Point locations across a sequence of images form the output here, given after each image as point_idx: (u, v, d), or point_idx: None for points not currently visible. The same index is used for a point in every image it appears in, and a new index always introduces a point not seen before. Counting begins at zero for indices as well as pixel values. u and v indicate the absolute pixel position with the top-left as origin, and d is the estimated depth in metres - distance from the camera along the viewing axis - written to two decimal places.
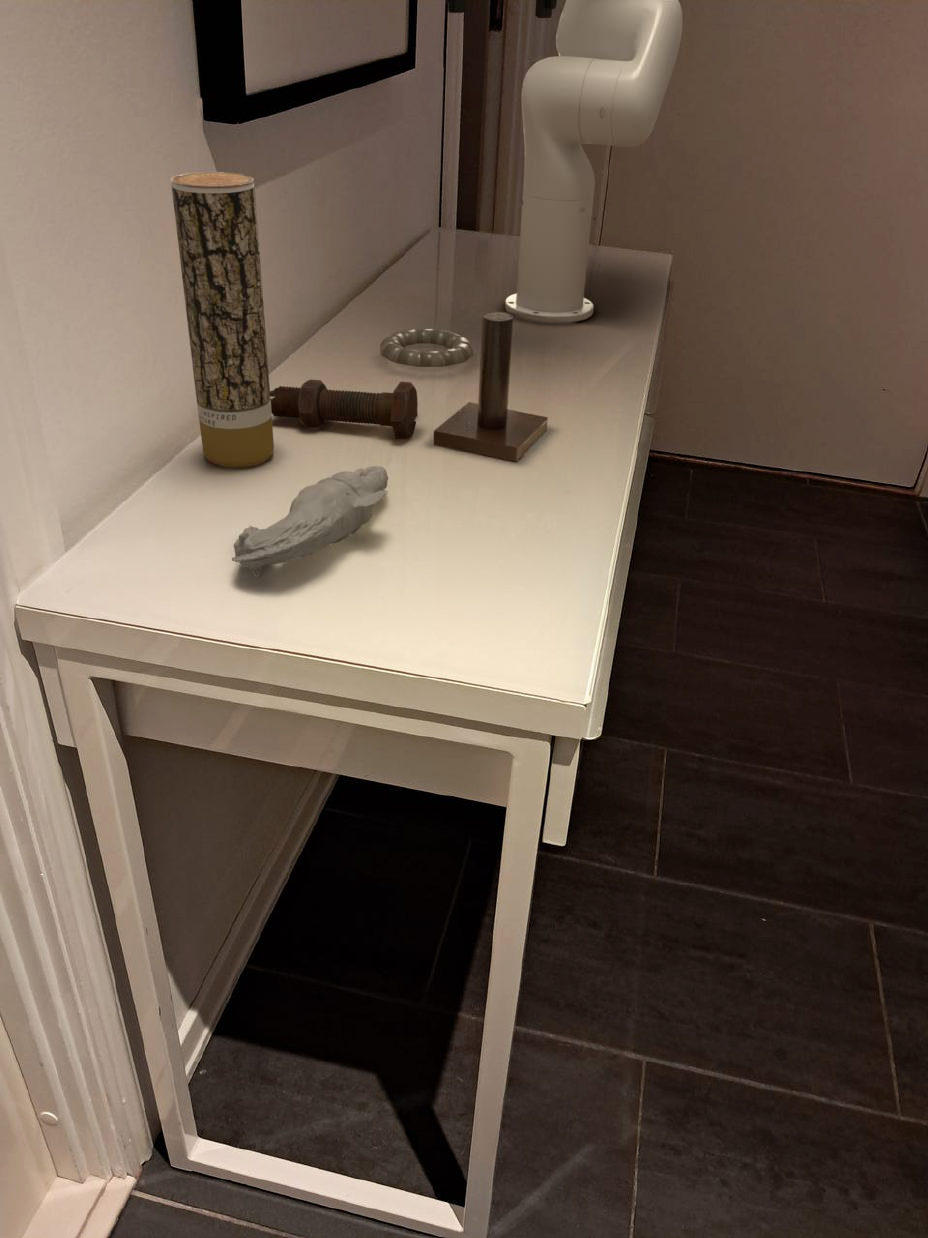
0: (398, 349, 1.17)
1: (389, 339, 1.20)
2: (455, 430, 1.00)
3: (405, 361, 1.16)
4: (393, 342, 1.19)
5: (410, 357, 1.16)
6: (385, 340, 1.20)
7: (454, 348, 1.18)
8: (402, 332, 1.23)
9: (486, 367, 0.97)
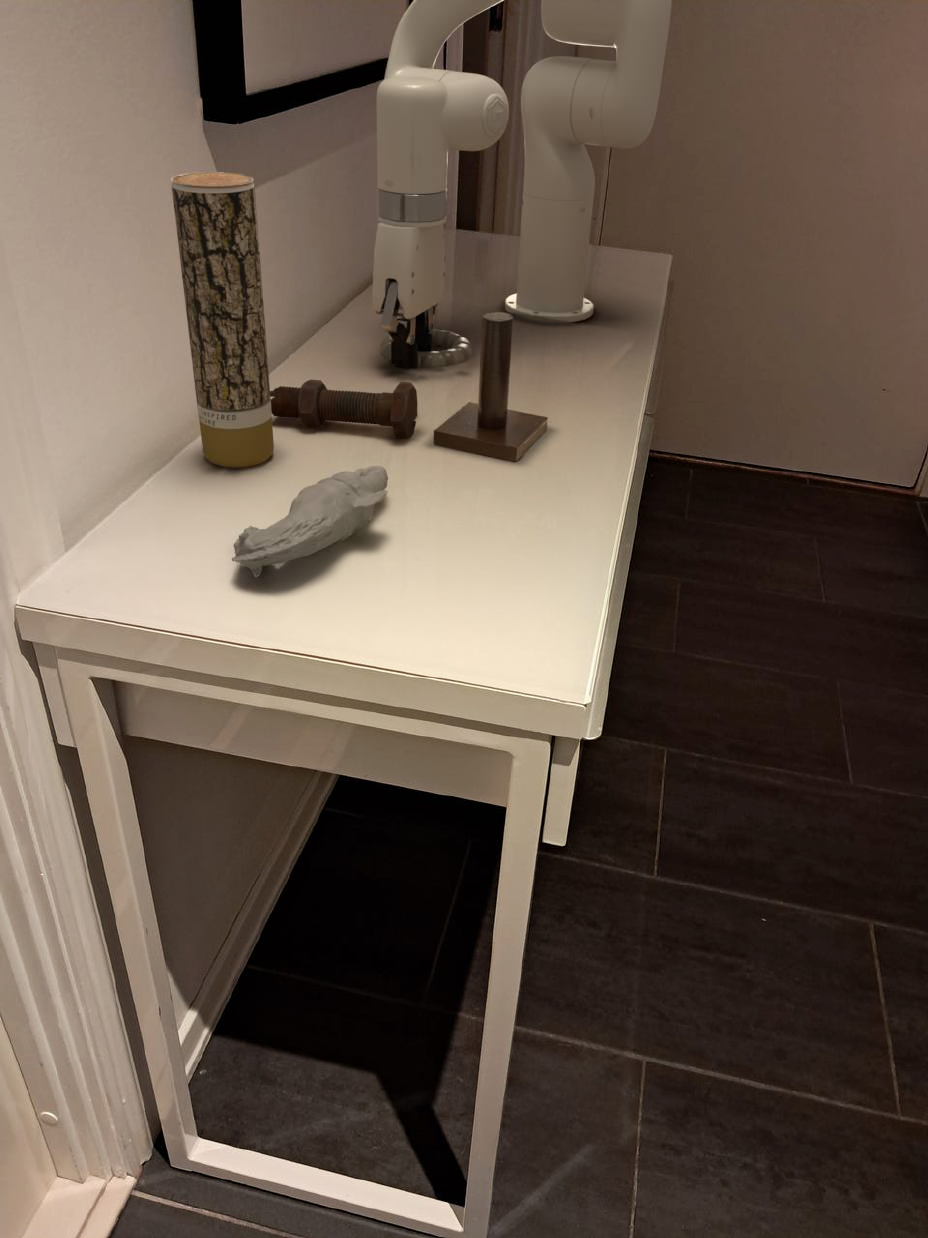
0: None
1: None
2: (455, 430, 1.00)
3: None
4: None
5: None
6: (385, 340, 1.20)
7: (454, 348, 1.18)
8: None
9: (486, 367, 0.97)
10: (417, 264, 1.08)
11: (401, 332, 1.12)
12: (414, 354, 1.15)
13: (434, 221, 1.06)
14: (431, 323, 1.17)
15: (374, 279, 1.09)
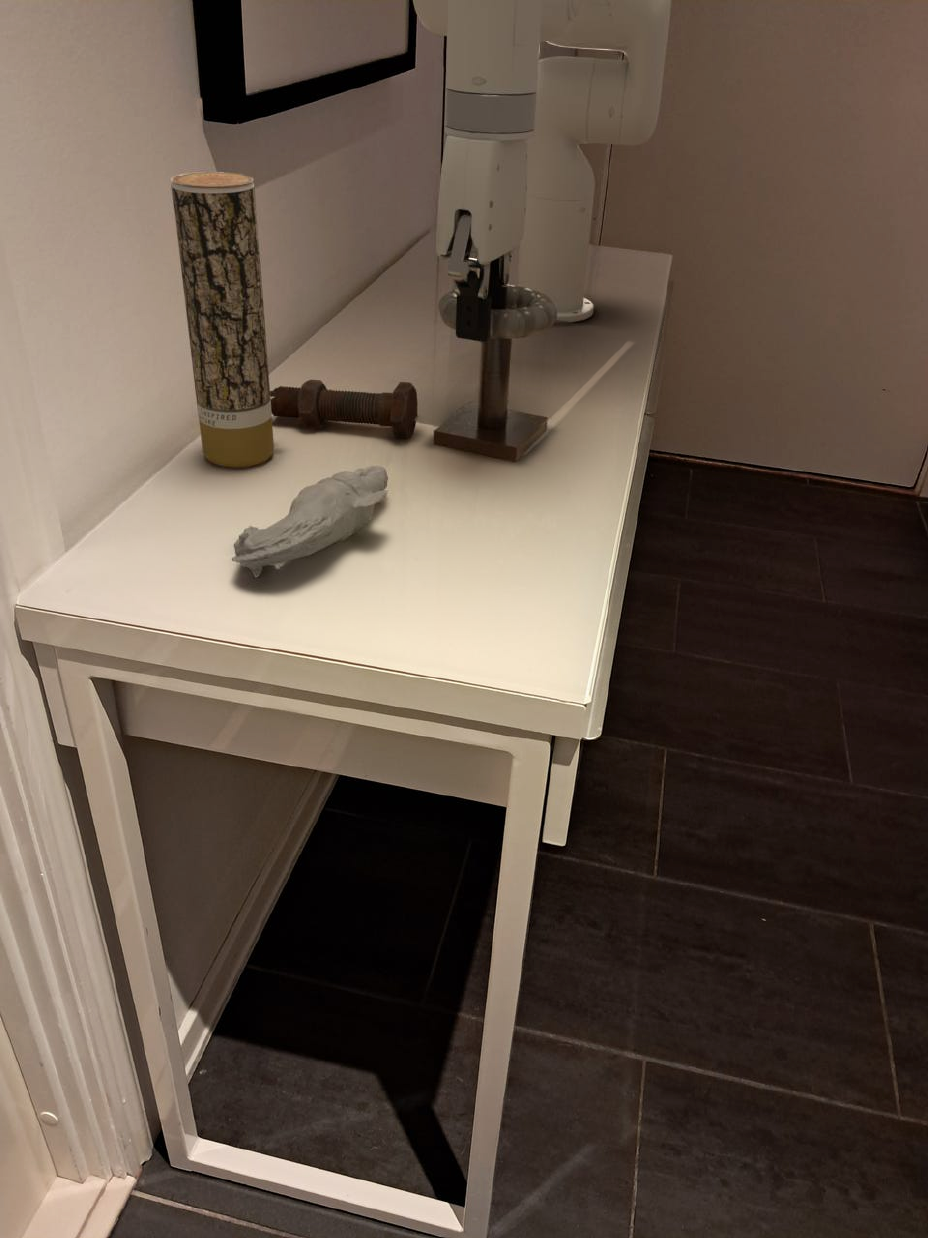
0: None
1: (451, 295, 0.95)
2: (455, 430, 1.00)
3: None
4: (456, 298, 0.94)
5: None
6: (445, 296, 0.95)
7: (535, 306, 0.93)
8: None
9: (486, 367, 0.97)
10: (497, 190, 0.82)
11: (472, 283, 0.86)
12: (487, 311, 0.89)
13: (521, 133, 0.81)
14: (507, 273, 0.92)
15: (440, 211, 0.83)
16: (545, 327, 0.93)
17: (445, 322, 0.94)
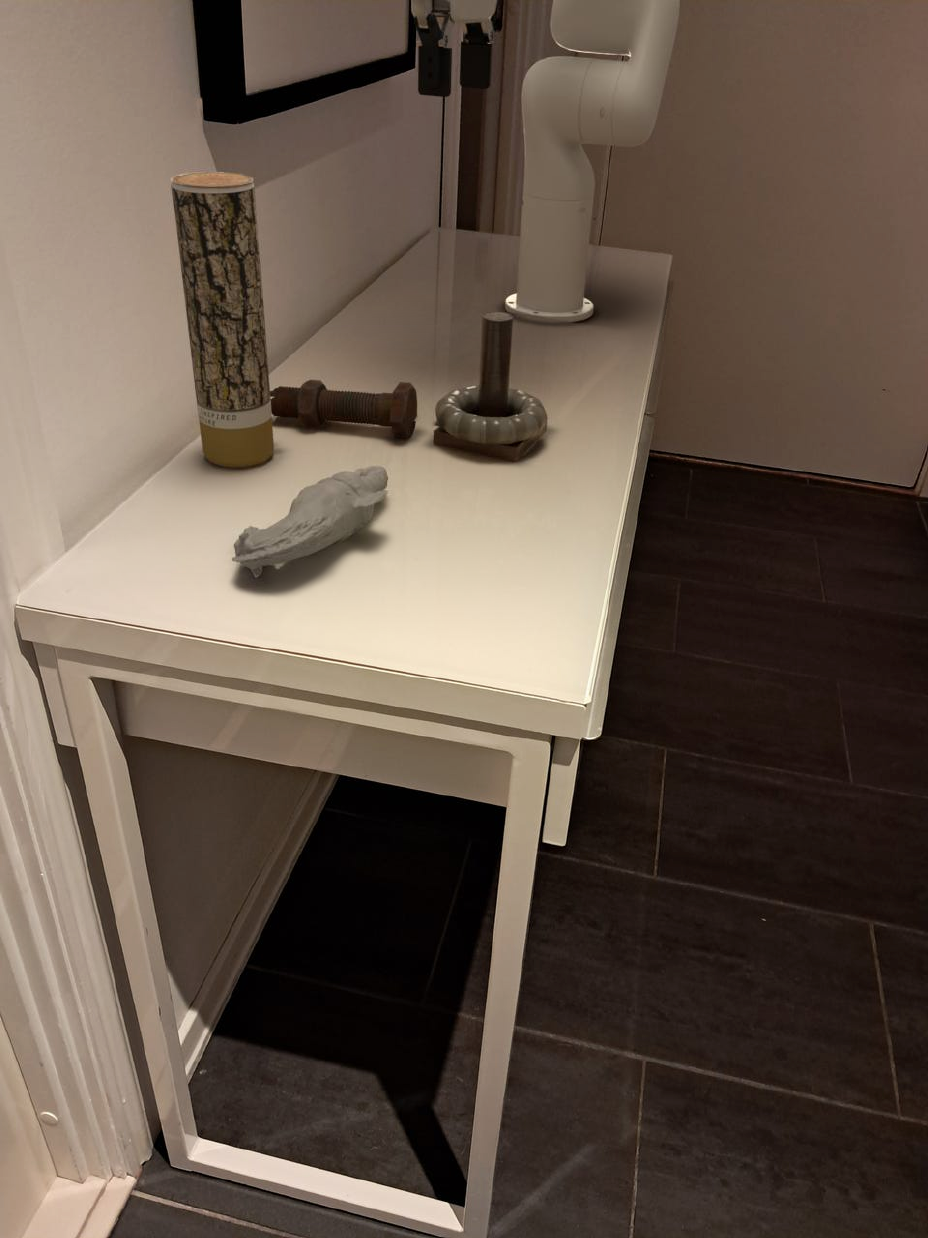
0: (459, 414, 0.97)
1: (446, 400, 1.00)
2: None
3: (467, 429, 0.96)
4: (451, 405, 0.99)
5: (473, 425, 0.96)
6: (441, 401, 1.00)
7: (526, 413, 0.98)
8: (461, 390, 1.02)
9: (486, 367, 0.97)
10: None
11: (432, 26, 0.89)
12: (448, 62, 0.92)
13: None
14: (490, 31, 0.99)
15: None
16: (536, 433, 0.98)
17: (441, 427, 0.99)
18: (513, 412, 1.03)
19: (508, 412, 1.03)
